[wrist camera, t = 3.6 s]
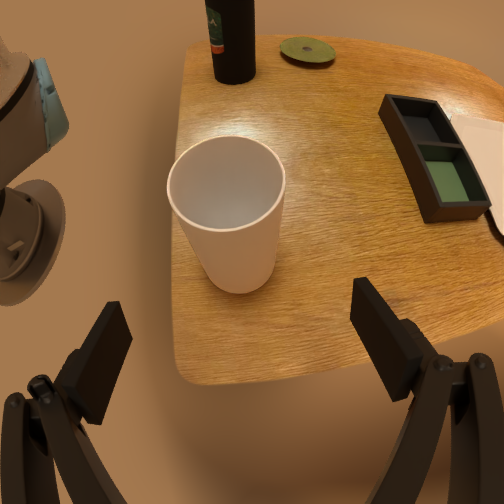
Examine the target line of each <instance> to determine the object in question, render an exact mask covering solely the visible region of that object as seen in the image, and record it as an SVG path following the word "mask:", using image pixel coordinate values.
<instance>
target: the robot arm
mask: <svg viewBox="0 0 504 504" xmlns="http://www.w3.org/2000/svg"><path fill="white" fill-rule="evenodd" d="M68 129H69V122H68V119H67V117H66V114H65V111H64V109H63V107H62V104H61V101H60V99H59V96H58V94H57V91H56V88H55V86H54V83H53V80H52V77H51V74H50V72H49V69H48V66H47V63H46V60H45V58H40V59H37V60H34V62H33V63H32V62H31V60H30V59H29V57H28V56H27V54H25V53H23V52H15V53H10V52H9V51H8V49H7V47H6V46H5V44H4V42H3V41H2V39H1V37H0V281H9V280H12V279H14V278H15V277H17V276H18V275H19V274H21V273H22V272H23V271H24V270H25V268H26V267H27V266H28V265H29V263H30V262H31V260H32V258H33V257H34V255H35V253H36V251H37V249H38V246H39V243H40V241H41V237H42V233H43V227H44V215H43V210H42V208H41V206H40V204H39V203H38V202H37V201H36V200H35V199H34V198H33V197H32V196H30V195H29V194H27V193H24V192H21V191H18V190H15V189H12V188H9V187H6V185H8V184H9V183H10V182H11V181H12V180H13V179H14V178H16V177H17V176H18V175H19V174H20V173H21V172H23V171H24V170H25V169H26V168H27V167H29V166H30V165H31V164H32V163H34V162H35V161H36V160H37V159H39V158H40V157H41V156H42V155H44V154H45V153H48V152H49V151H50V149H51V147H53V146H54V145H55V144H56V143H58V142H59V141H60V140H61V139H63V138H64V137H65V135H66V134H67V132H68ZM350 320H351V322H352V324H353V326H354V328H355V329H356V331H357V333H358V335H359V337H360V339H361V341H362V343H363V345H364V346H365V348H366V350H367V352H368V354H369V356H370V358H371V360H372V362H373V364H374V366H375V368H376V370H377V372H378V374H379V376H380V378H381V379H382V382H383V383H384V386H385V388H386V390H387V391H388V394H389V396H390V398H391V399H392V402H396V401H399V400H402V399H406V398H407V397H408V395H409V393H410V390H411V391H412V392H413V394H414V398H413V400H412V402H411V404H410V406H409V409H408V410H409V411H408V414H407V416H406V419H405V421H404V424H403V426H402V429H401V431H400V434H399V436H398V438H397V441H396V443H395V446H394V448H393V450H392V452H391V454H390V456H389V458H388V461H387V463H386V465H385V467H384V469H383V471H382V473H381V475H380V477H379V479H378V481H377V482H376V484H375V486H374V488H373V490H372V492H371V494H370V495H369V497H368V499H367V501H366V502H365V504H415V501H416V499H417V497H418V495H419V492H420V490H421V488H422V485H423V483H424V480H425V478H426V475H427V472H428V469H429V467H430V464H431V461H432V458H433V455H434V452H435V449H436V446H437V443H438V440H439V436H440V433H441V429H442V425H443V422H444V418H445V414H446V410H447V406H448V405H450V406H451V407H450V408H451V468H450V482H449V493H448V502H447V504H504V412H503V406H502V400H501V395H500V390H499V385H498V381H497V377H496V373H495V368H494V364H493V362H492V360H491V358H490V357H489V356H487V355H485V354H483V353H475V354H473V355H471V357H470V359H469V361H468V362H455V363H454V362H453V360H452V359H451V358H449V357H447V356H445V355H439V354H438V353H437V352H436V350H435V349H434V348H433V346H432V345H431V344H430V342H429V341H428V340H427V338H426V337H424V334H423V333H422V332H420V329H419V328H418V327H417V325H416V324H415V323H414V322H412V321H410V320H409V319H407V318H406V319H402V320H399V319H398V318H397V316H396V315H395V314H394V312H393V311H392V310H391V308H390V307H389V306H388V304H387V303H386V302H385V300H384V299H383V298H382V297H381V295H380V294H379V293H378V291H377V290H376V289H375V287H374V286H373V285H372V284H371V282H370V281H369V280H368V279H367V277H361V278H354V281H353V292H352V303H351V312H350ZM132 340H133V338H132V336H131V333H130V330H129V328H128V325H127V322H126V319H125V317H124V314H123V311H122V308H121V305H120V302H119V301H113V302H107V304H106V305H105V307H104V309H103V310H102V312H101V314H100V315H99V317H98V319H97V320H96V322H95V324H94V326H93V327H92V329H91V330H90V332H89V334H88V336H87V337H86V339H85V341H84V343H83V344H82V346H81V348H80V349H75V350H74V351H73V352H72V353H71V354H70V355H69V356H68V358H67V360H66V361H65V364H64V365H63V367H62V369H61V370H60V372H59V374H58V376H57V378H56V379H55V381H54V383H52V382H51V380H50V378H49V377H48V376H47V375H38V376H35V377H34V378H32V380H31V381H30V382H29V383H28V386H27V390H28V391H29V393H30V394H31V396H32V397H33V399H25V397H24V396H23V395H22V394H21V393H19V392H16V393H13V394H11V395H10V396H8V398H7V399H6V401H5V404H4V412H3V422H2V434H1V455H0V456H1V459H0V465H1V466H0V474H1V475H0V476H1V496H2V497H1V498H2V504H60V500H59V495H58V489H57V484H56V477H55V470H54V462H53V458H54V460H55V463H56V466H57V468H58V471H59V473H60V476H61V478H62V480H63V482H64V485H65V487H66V489H67V491H68V493H69V496H70V498H71V500H72V502H73V504H127V502H126V501H125V500H124V498H123V496H122V495H121V493H120V492H119V490H118V489H117V487H116V486H115V484H114V482H113V481H112V479H111V478H110V476H109V474H108V472H107V471H106V469H105V467H104V465H103V464H102V462H101V460H100V458H99V456H98V455H97V453H96V451H95V449H94V447H93V445H92V443H91V441H90V439H89V437H88V435H87V433H86V431H85V429H84V427H83V425H82V424H81V423H80V421H81V419H82V416H83V417H84V419H85V420H86V421H87V423H88V424H95V425H101V424H102V421H103V418H104V415H105V412H106V409H107V407H108V404H109V401H110V398H111V395H112V392H113V389H114V387H115V384H116V381H117V378H118V376H119V373H120V370H121V368H122V365H123V363H124V360H125V357H126V355H127V352H128V350H129V347H130V345H131V342H132Z"/></svg>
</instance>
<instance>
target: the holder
mask: <svg viewBox="0 0 504 504" xmlns="http://www.w3.org/2000/svg"><path fill="white" fill-rule="evenodd" d="M378 114H379V116H380V118H381V120H382V122H383V124H384V126H385V128H386V130H387V132H388V134H389V136H390V138H391V140H392V142H393V144H394V147H395V149H396V151H397V153H398V156H399V158H400V160H401V162H402V165H403V167H404V169H405V172H406V174H407V177H408V179H409V182H410V184H411V187H412V189H413V192H414V195H415V197H416V200H417V203H418V205H419V208H420V211H421V214H422V217H423V220H424V223H435V222H448V221H461V220H474V219H477V218H478V217H480V216H481V215H482V214H483V213H484V212H485V211H486V210H488V209H489V208H490V207H491V206H492V203H491V201H490V199H489V196H488V194H487V192H486V189H485V187H484V185H483V183H482V181H481V178H480V176H479V174H478V172H477V170H476V168H475V166H474V164H473V162H472V160H471V158H470V156H469V154H468V152H467V150H466V149H465V147H464V145H463V143H462V141H461V140H460V138H459V136H458V134H457V133H456V131H455V129H454V127H453V126H452V124H451V123H450V121H449V119H448V118H447V116H446V114H445V113H444V111H443V110H442V108H441V107H440V105H439V104H438V102H437V101H433V100H428V99H422V98H415V97H408V96H400V95H391V94H385V96H384V99H383V101H382V104H381V107H380V109H379V112H378Z"/></svg>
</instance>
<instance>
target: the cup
mask: <svg viewBox="0 0 504 504" xmlns="http://www.w3.org/2000/svg"><path fill="white" fill-rule="evenodd" d="M285 188H286V177H285V171H284V167H283V165H282V162H281V160H280V159H279V157H278V156H277V155H276V153H275V152H274V151H273V150H272V149H271V148H269V147H268V146H267V145H265V144H264V143H262V142H260V141H258V140H256V139H253V138H250V137H246V136H241V135H220V136H215V137H211V138H207V139H205V140H202V141H200V142H198V143H196V144H194V145H193V146H191V147H190V148H188V149H187V150H186V151H185V152H183V153H182V154H181V155H180V157H179V158H178V159H177V160H176V161H175V163H174V165H173V167H172V168H171V171H170V173H169V176H168V181H167V194H168V198H169V202H170V205H171V207H172V209H173V211H174V213H175V215H176V217H177V219H178V221H179V223H180V225H181V227H182V229H183V231H184V232H185V234H186V236H187V238H188V240H189V242H190V244H191V246H192V248H193V250H194V251H195V253H196V255H197V257H198V259H199V261H200V263H201V264H202V266H203V268H204V270H205V272H206V274H207V275H208V277H209V279H210V280H211V281H212V283H214V284H215V285H216V286H217V287H218V288H220V289H222V290H224V291H226V292H230V293H235V294H242V293H248V292H251V291H254V290H256V289H258V288H259V287H261V286H262V285H263V284H264V283H265V282H266V281H267V280H268V279H269V277H270V276H271V274H272V272H273V269H274V265H275V259H276V252H277V245H278V238H279V232H280V225H281V217H282V210H283V203H284V195H285Z"/></svg>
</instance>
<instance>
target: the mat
mask: <svg viewBox="0 0 504 504" xmlns="http://www.w3.org/2000/svg"><path fill="white" fill-rule="evenodd" d="M280 49H281V51H282V52H283V53H285V54H286V55H287V56H289V57H292V58H294V59H297V60H301V61H306V62H327V61H329V60H332V59H333V58H334V57H335V54H336V53H335V50H334V49H333V48H332V47H331V46H330V45H329V44H327V43H325V42H323V41H320V40H317V39H313V38H308V37H293V38H289V39H286V40H284V41H283V42H282V43H281V44H280Z"/></svg>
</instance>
